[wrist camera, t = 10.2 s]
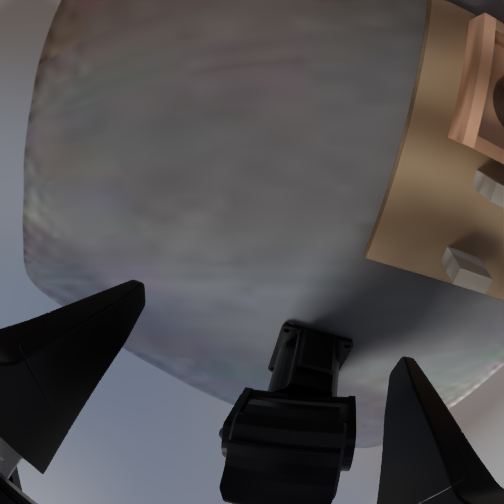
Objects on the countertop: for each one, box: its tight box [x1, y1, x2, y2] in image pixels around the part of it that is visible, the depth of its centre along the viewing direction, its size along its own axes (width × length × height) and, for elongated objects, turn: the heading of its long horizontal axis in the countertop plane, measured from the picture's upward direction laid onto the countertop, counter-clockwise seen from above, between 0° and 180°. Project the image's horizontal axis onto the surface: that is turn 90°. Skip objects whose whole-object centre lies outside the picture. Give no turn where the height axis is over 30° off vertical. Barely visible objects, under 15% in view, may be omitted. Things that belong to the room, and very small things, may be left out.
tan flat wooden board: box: [365, 0, 504, 300], centre depth 14 cm, size 19×14×4 cm
